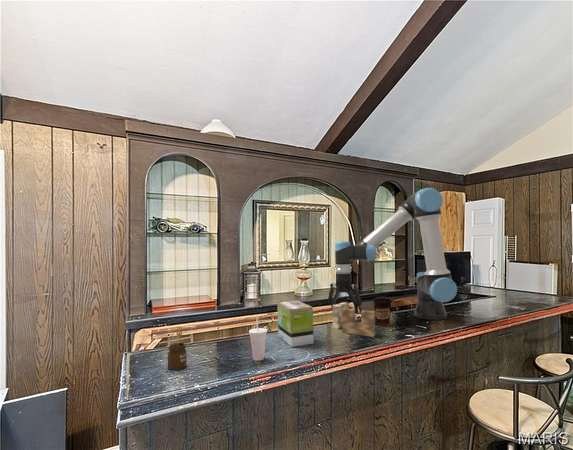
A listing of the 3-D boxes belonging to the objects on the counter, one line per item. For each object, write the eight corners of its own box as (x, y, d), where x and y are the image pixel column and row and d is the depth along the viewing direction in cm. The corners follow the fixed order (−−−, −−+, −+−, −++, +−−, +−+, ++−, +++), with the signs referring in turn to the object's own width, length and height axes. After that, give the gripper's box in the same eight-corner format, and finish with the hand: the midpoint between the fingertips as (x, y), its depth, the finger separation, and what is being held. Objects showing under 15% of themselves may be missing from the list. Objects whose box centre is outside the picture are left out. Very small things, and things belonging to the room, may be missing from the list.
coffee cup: (393, 328, 145) (392, 299, 146) (374, 327, 147) (373, 298, 148) (391, 323, 154) (390, 295, 155) (373, 322, 156) (372, 295, 156)
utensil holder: (165, 370, 102) (165, 332, 102) (171, 363, 108) (171, 327, 109) (183, 369, 102) (183, 331, 103) (188, 362, 108) (188, 326, 109)
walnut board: (375, 335, 135) (374, 311, 135) (373, 336, 133) (372, 312, 133) (344, 330, 142) (343, 308, 143) (342, 332, 140) (341, 309, 141)
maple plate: (344, 322, 158) (343, 301, 158) (349, 322, 156) (348, 302, 157) (332, 328, 147) (332, 306, 147) (337, 329, 145) (337, 306, 146)
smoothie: (262, 354, 115) (261, 314, 116) (271, 359, 109) (270, 318, 110) (246, 357, 111) (245, 317, 112) (254, 363, 106) (253, 320, 107)
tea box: (277, 337, 135) (276, 301, 136) (298, 334, 139) (298, 299, 140) (291, 347, 122) (290, 308, 122) (314, 343, 125) (313, 305, 126)
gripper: (319, 272, 160) (320, 317, 158) (362, 274, 147) (364, 323, 146) (326, 271, 166) (327, 314, 165) (368, 272, 154) (369, 319, 152)
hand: (344, 318), depth 155 cm, fingers open, 10 cm apart
